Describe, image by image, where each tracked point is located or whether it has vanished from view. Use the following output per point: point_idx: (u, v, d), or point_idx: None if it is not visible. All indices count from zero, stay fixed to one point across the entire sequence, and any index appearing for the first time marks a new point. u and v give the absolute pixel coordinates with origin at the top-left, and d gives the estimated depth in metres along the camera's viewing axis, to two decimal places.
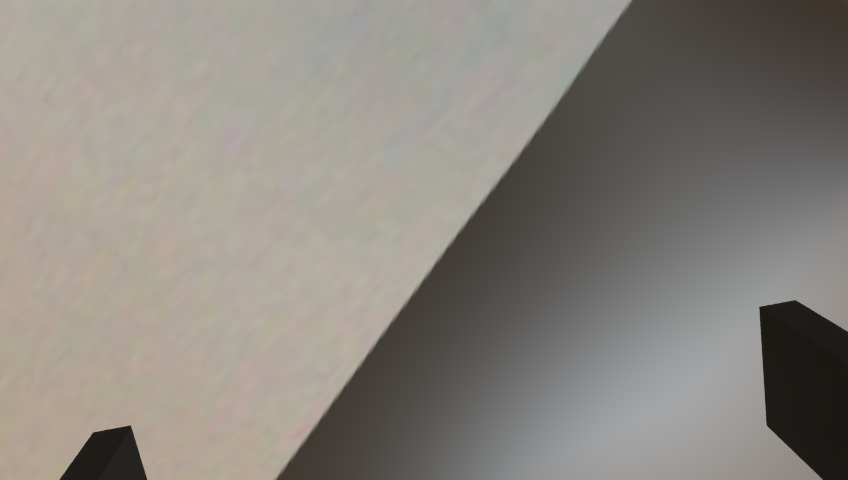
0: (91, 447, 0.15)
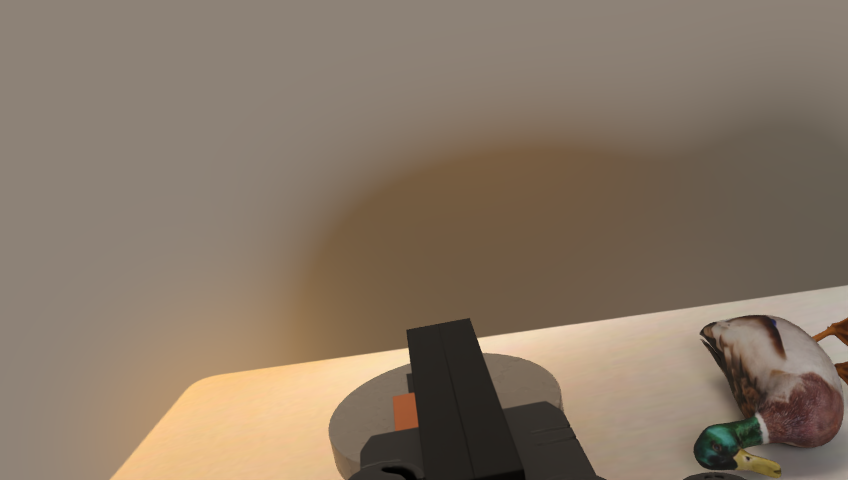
0: (417, 339, 0.17)
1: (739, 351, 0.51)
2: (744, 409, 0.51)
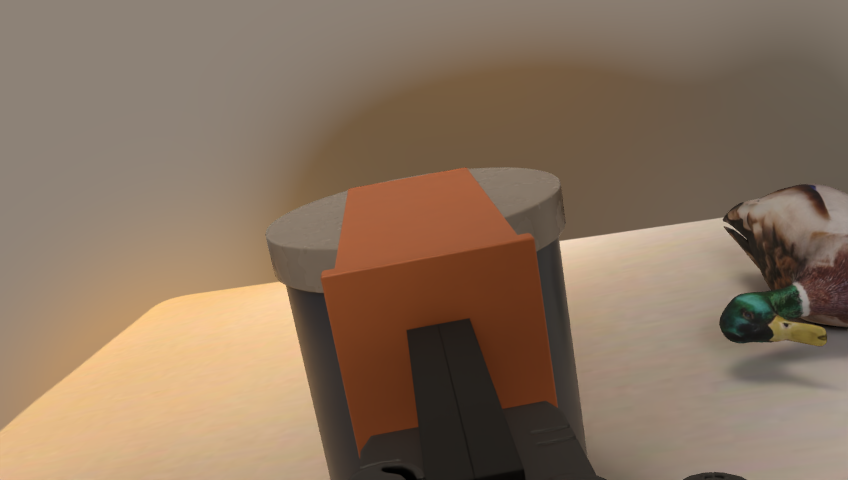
0: (416, 339, 0.17)
1: (772, 220, 0.44)
2: (778, 287, 0.43)
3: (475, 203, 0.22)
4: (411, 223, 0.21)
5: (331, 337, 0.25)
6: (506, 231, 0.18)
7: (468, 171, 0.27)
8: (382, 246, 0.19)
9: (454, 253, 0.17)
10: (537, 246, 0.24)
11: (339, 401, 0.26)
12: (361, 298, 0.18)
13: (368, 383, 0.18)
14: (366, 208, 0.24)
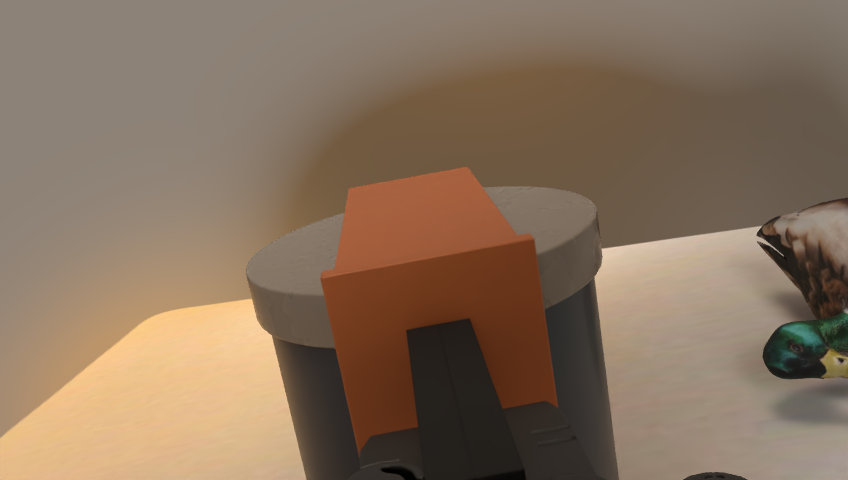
0: (416, 339, 0.17)
1: (817, 238, 0.39)
2: (824, 312, 0.39)
3: (476, 203, 0.22)
4: (411, 223, 0.21)
5: (323, 397, 0.20)
6: (506, 231, 0.18)
7: (469, 171, 0.27)
8: (382, 246, 0.19)
9: (454, 253, 0.17)
10: (572, 289, 0.20)
11: (332, 471, 0.21)
12: (361, 299, 0.18)
13: (368, 383, 0.18)
14: (367, 208, 0.24)
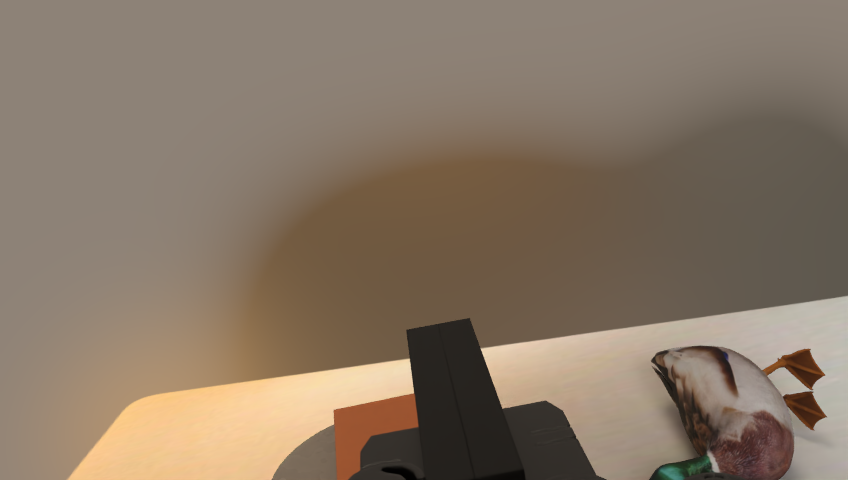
0: (417, 339, 0.17)
1: (691, 385, 0.50)
2: (695, 444, 0.50)
3: None
4: None
5: None
6: None
7: None
8: None
9: None
10: None
11: None
12: None
13: None
14: (352, 452, 0.33)
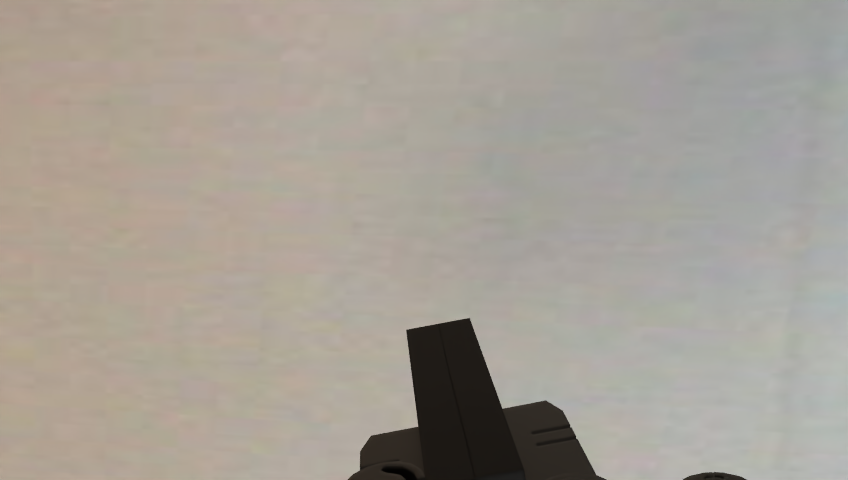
0: (417, 339, 0.17)
1: None
2: None
3: None
4: None
5: None
6: None
7: None
8: None
9: None
10: None
11: None
12: None
13: None
14: None
